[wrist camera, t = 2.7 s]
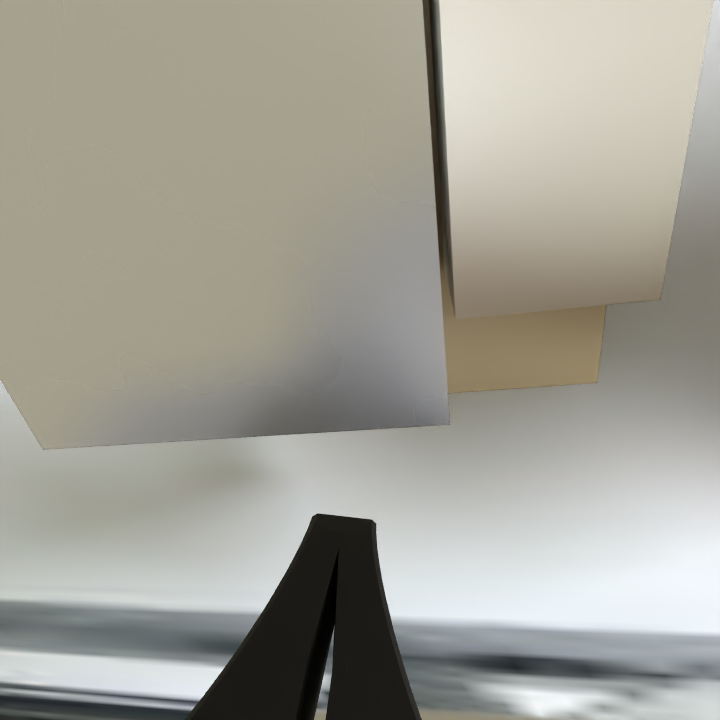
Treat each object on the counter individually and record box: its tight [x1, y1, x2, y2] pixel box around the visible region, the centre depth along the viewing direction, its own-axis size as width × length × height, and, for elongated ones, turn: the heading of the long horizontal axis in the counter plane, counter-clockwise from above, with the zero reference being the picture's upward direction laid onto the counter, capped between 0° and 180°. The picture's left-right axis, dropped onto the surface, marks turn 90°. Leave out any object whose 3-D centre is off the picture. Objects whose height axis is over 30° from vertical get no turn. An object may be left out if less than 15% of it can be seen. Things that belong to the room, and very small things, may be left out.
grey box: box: [0, 0, 450, 450], centre depth 6 cm, size 6×8×5 cm
